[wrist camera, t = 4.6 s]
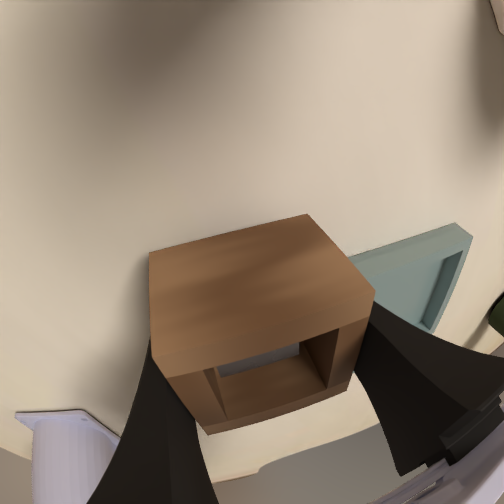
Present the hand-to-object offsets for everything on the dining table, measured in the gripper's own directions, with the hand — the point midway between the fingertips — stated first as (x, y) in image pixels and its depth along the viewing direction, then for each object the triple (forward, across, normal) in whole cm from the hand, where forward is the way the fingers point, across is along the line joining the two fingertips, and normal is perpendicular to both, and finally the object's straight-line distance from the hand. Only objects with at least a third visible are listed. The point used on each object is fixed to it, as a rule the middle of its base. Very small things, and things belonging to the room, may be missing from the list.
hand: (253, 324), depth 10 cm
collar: (+2, 0, 0) cm, 2 cm away
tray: (+3, -10, +6) cm, 12 cm away
